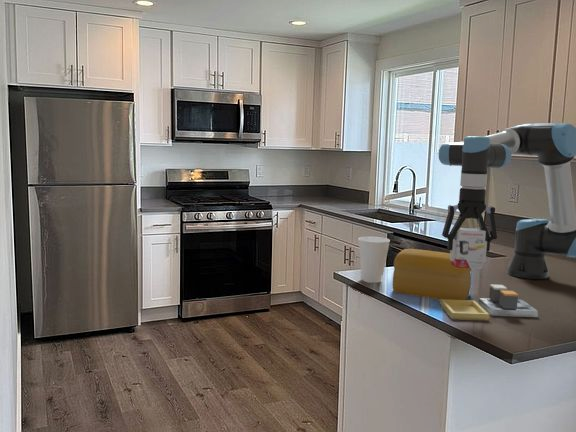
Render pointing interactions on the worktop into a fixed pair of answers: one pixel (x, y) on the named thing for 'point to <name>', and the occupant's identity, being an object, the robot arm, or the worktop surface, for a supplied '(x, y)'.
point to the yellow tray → (464, 310)
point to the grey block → (508, 299)
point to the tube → (470, 223)
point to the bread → (430, 275)
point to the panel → (497, 310)
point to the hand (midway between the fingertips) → (467, 260)
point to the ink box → (469, 248)
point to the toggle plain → (496, 292)
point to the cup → (373, 257)
